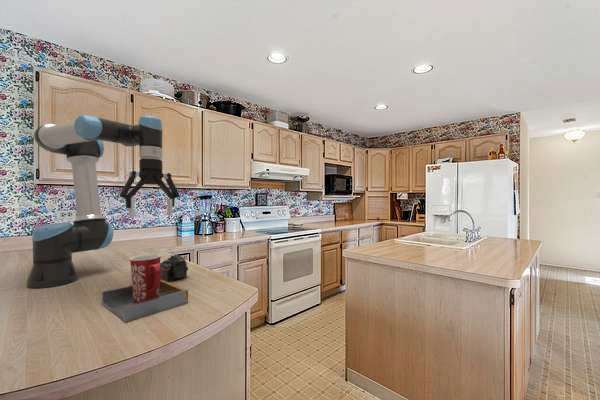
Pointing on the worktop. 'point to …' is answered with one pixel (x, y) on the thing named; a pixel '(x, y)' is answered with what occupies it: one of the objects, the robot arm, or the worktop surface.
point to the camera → (173, 268)
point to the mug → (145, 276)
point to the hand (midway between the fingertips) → (151, 216)
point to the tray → (129, 309)
